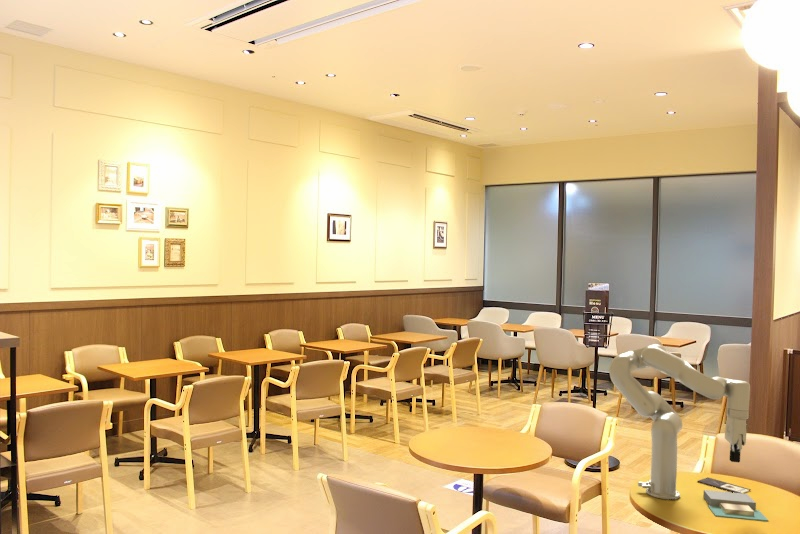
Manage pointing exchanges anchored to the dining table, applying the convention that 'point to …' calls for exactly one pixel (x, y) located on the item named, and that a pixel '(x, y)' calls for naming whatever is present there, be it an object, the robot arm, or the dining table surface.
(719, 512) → the teal mat
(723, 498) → the gray block
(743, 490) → the chocolate bar
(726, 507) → the brass tile
